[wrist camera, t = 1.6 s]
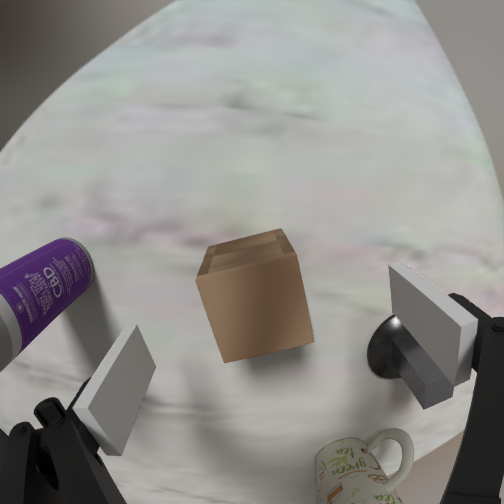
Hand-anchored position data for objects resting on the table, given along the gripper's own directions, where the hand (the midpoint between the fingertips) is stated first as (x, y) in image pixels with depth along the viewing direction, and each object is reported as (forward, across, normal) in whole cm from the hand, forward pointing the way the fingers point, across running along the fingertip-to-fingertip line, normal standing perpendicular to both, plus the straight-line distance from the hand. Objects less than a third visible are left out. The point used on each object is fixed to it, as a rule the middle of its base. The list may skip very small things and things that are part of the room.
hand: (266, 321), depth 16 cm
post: (+8, +10, -10) cm, 17 cm away
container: (+8, -14, +4) cm, 17 cm away
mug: (+8, +5, -22) cm, 24 cm away
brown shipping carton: (+8, 0, 0) cm, 8 cm away
